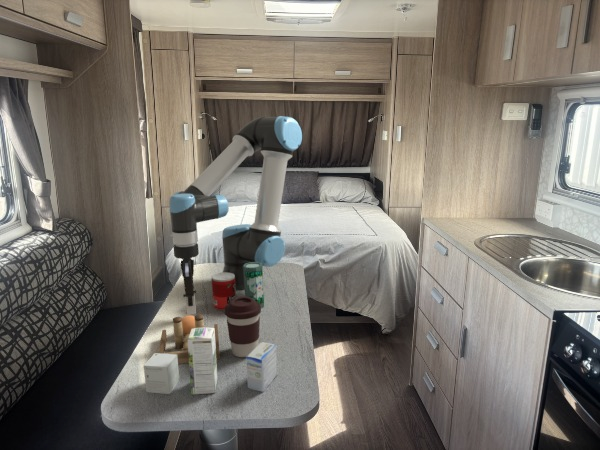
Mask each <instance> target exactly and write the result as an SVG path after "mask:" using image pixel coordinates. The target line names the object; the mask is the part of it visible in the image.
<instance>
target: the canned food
mask: <svg viewBox="0 0 600 450" xmlns="http://www.w3.org/2000/svg"><path fill="white" fill-rule="evenodd" d="M222 272H223V271H222ZM222 272H216V273H214V274H213V275H211V288H212V289H211V292H212V302H213V303H212V304H213V307H214V309H216V310H218V311H224V308H225V306H226V305H227V304H229V303H230V301H231V300H232V299H234V298H237V296H236V295H237V294H236V293H237V292H236V288H235V275H234V274H232V273H227V272H223V273H222Z"/></svg>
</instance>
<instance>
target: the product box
mask: <svg viewBox="0 0 600 450" xmlns="http://www.w3.org/2000/svg"><path fill="white" fill-rule="evenodd" d="M166 353H167V352H165V353H163V354H161V353H158V352H156V353H155V352H154V353H153V354H152V355H151V357H149V359H148V360H147V361H146V363H145V364H144V365H143V370H144V371H143V373H144V380H145V391H146V393H153V394H166V395H170V394H171V393H172V392H173V391H174V389H175V387H176V386H177V384H178V382H179V381H180V374H179V373H180V371H179V369H180V368H179V364H178V357H177V354H166Z"/></svg>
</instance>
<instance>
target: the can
mask: <svg viewBox="0 0 600 450" xmlns="http://www.w3.org/2000/svg"><path fill="white" fill-rule="evenodd" d="M243 271H244V289H243V290H244V297H251V298H253V299H254V300H255V301H256V302H258V303H260V305H261V309H263V308H264V307H265V297H264V296H265V295H264V293H265V292H264V274H263V272H264V271H263V266H262V263H259V262H249V263H246V264H244V265H243Z"/></svg>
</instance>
